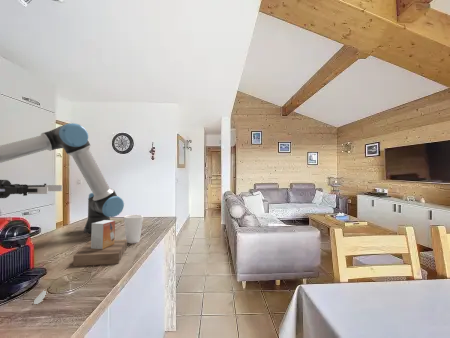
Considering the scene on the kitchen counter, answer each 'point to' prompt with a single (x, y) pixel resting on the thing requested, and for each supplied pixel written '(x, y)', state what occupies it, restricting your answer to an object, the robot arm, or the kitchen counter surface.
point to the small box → (102, 234)
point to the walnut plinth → (100, 254)
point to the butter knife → (40, 297)
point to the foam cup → (133, 227)
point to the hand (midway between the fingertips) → (55, 189)
